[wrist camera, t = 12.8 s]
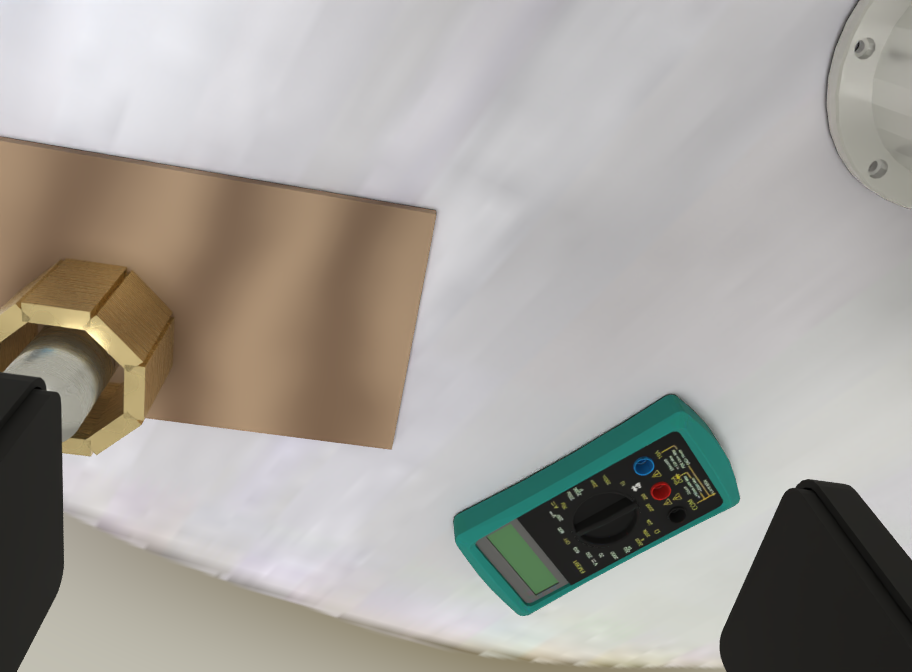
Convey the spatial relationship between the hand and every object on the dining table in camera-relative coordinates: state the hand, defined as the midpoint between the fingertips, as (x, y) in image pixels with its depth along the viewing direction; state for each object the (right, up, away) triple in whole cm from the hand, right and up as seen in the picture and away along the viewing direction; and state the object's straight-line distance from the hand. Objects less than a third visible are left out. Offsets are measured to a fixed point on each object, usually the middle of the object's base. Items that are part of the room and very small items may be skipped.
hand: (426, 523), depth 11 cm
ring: (-17, +3, +29) cm, 33 cm away
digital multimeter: (+8, -6, +36) cm, 37 cm away
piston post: (-17, +3, +29) cm, 34 cm away
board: (-12, +4, +29) cm, 31 cm away
